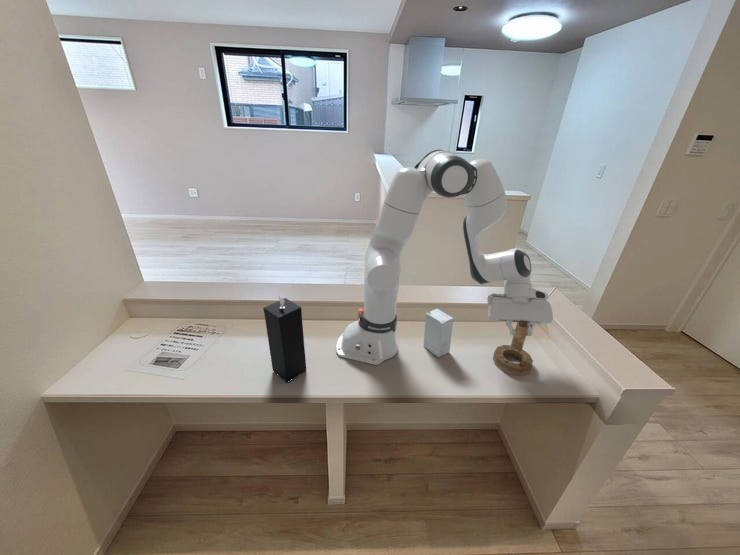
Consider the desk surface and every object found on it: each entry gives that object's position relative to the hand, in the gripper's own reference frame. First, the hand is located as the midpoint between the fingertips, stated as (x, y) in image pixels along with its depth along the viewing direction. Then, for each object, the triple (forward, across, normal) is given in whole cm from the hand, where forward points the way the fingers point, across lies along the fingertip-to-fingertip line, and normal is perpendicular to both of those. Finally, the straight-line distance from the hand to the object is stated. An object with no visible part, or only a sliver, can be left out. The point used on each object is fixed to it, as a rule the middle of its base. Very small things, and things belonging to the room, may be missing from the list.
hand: (520, 335), depth 103 cm
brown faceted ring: (+8, 0, +9) cm, 12 cm away
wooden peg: (+3, 0, +4) cm, 5 cm away
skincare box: (+6, -26, +12) cm, 29 cm away
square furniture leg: (+18, -75, -1) cm, 77 cm away
